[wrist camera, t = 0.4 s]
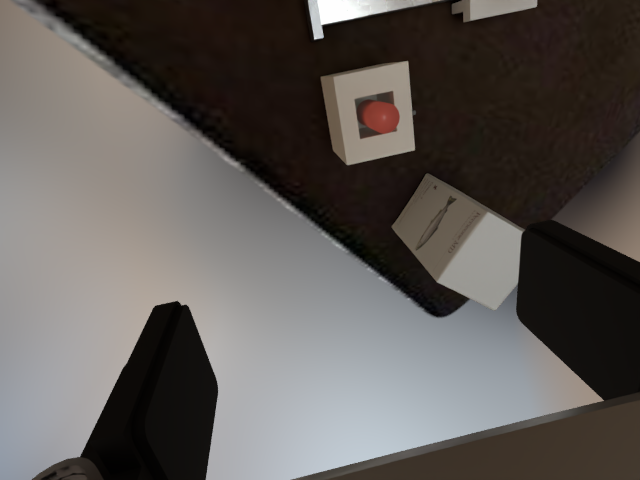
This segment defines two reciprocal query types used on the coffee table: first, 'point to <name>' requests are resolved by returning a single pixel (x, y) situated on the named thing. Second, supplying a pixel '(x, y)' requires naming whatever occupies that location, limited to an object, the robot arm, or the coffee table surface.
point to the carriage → (489, 8)
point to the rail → (353, 11)
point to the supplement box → (461, 242)
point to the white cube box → (350, 91)
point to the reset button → (378, 115)
